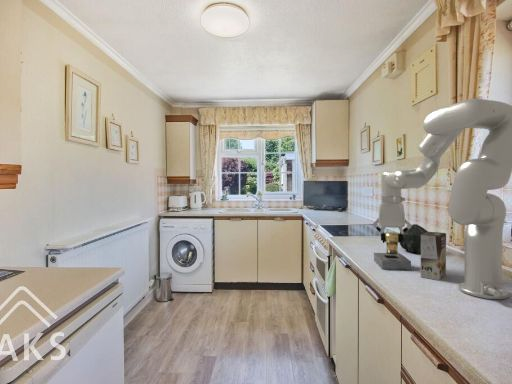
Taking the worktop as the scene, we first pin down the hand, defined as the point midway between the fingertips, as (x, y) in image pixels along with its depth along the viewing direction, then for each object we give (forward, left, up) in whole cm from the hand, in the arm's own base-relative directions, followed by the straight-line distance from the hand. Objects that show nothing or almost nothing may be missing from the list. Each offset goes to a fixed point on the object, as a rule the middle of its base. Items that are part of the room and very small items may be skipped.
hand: (392, 242), depth 127 cm
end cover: (0, 0, -5) cm, 5 cm away
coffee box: (-14, -11, -10) cm, 20 cm away
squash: (+26, -19, -10) cm, 34 cm away
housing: (0, 0, -10) cm, 10 cm away
